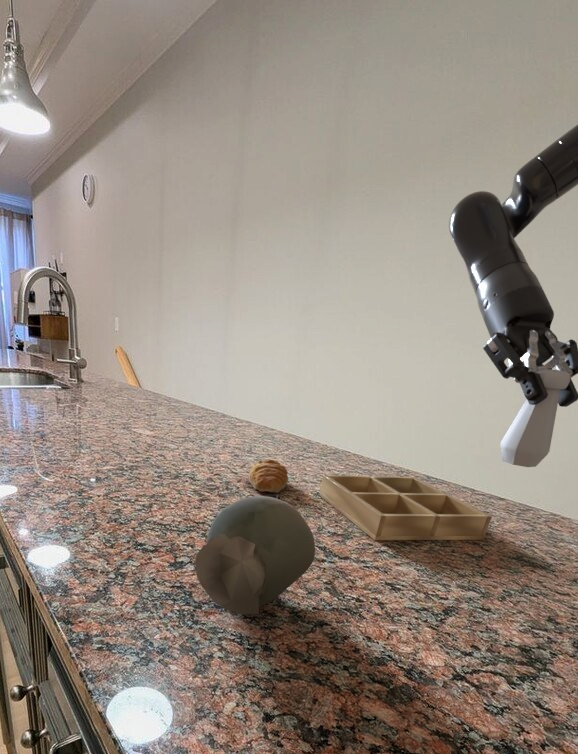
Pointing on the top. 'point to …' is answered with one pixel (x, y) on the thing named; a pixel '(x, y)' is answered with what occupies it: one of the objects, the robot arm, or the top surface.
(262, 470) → the pastry
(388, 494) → the grid
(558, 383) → the salt shaker
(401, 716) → the top surface
